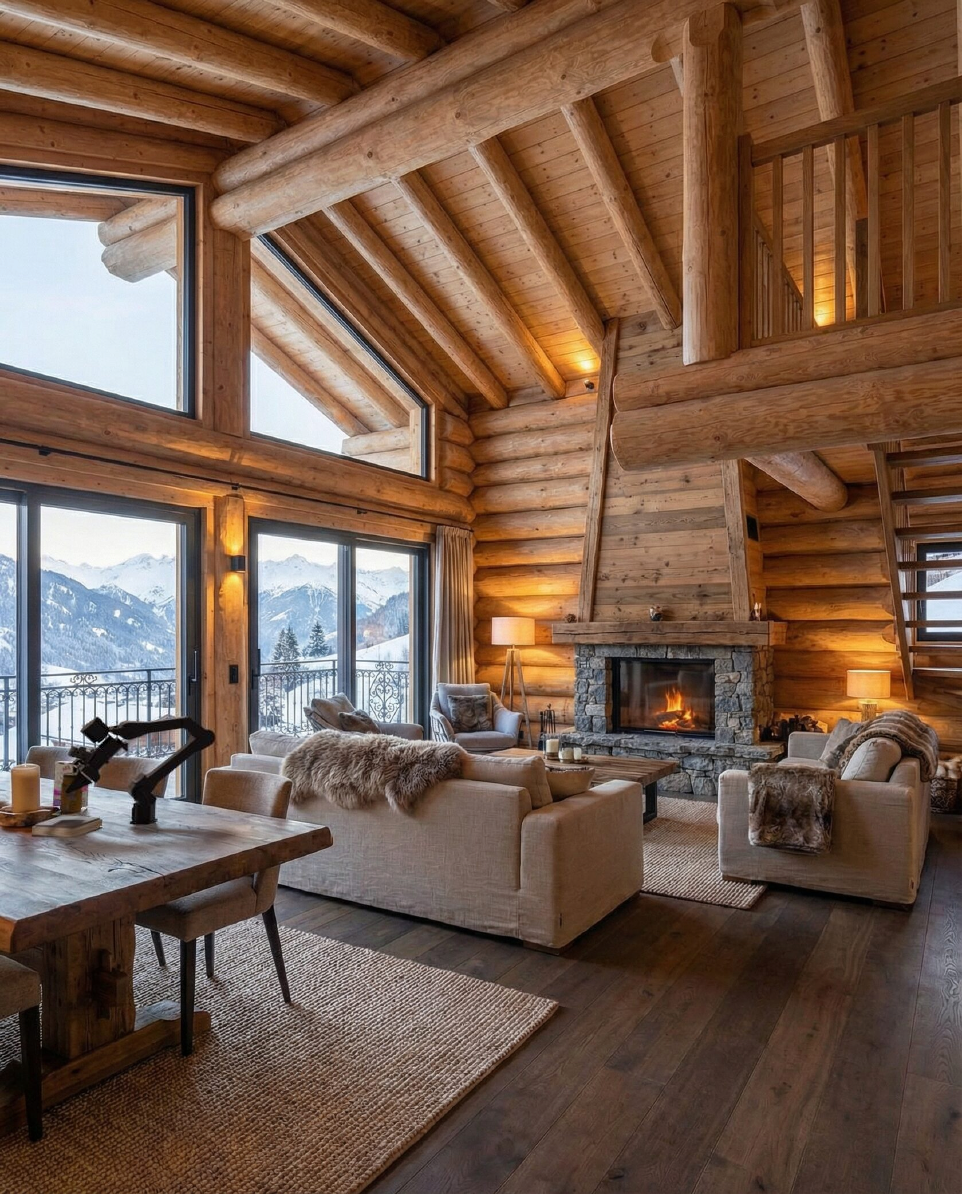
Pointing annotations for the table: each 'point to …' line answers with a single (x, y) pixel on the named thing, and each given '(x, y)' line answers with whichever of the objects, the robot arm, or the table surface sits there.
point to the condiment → (70, 797)
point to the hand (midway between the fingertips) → (64, 791)
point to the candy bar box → (59, 771)
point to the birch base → (67, 826)
